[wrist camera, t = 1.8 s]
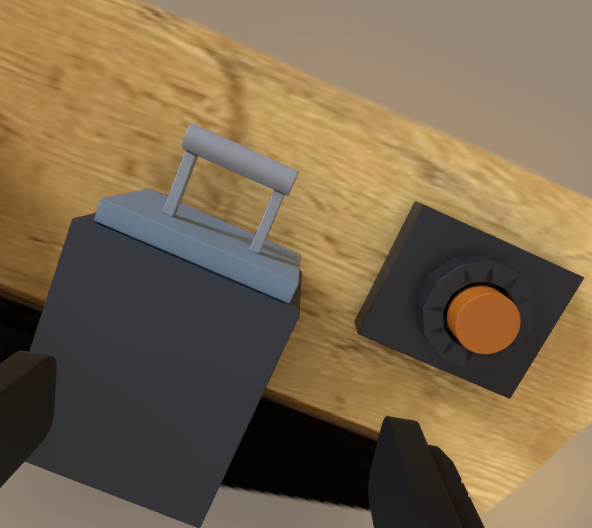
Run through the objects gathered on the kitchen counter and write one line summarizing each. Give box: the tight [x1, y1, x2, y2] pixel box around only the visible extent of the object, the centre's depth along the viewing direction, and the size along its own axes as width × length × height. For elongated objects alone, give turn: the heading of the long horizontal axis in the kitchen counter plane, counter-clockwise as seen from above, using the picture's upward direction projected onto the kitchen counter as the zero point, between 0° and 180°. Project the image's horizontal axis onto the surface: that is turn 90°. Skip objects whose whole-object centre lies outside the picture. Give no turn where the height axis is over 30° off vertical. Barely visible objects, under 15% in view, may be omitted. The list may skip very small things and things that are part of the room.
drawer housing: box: [25, 213, 302, 528], centre depth 27 cm, size 14×12×9 cm
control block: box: [355, 201, 584, 398], centre depth 29 cm, size 11×9×4 cm
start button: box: [447, 285, 521, 354], centre depth 26 cm, size 4×4×2 cm
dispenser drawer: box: [94, 124, 301, 304], centre depth 26 cm, size 17×10×7 cm, turn 156°
